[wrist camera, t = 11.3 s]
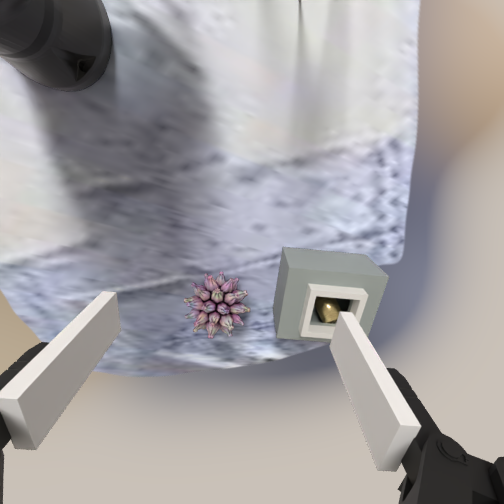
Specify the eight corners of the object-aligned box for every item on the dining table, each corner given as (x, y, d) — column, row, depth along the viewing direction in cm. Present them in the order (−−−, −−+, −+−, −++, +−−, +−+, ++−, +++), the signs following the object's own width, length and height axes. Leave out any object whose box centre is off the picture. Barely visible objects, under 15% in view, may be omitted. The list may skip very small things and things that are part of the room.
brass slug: (306, 296, 50) (320, 327, 46) (313, 286, 46) (329, 319, 43) (323, 293, 51) (339, 323, 47) (332, 282, 48) (349, 314, 44)
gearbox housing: (272, 308, 53) (277, 346, 43) (282, 246, 47) (291, 273, 37) (347, 315, 53) (369, 353, 43) (365, 254, 48) (395, 283, 38)
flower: (260, 275, 50) (263, 312, 39) (234, 319, 54) (229, 364, 43) (206, 250, 48) (193, 282, 37) (183, 298, 52) (165, 339, 41)
